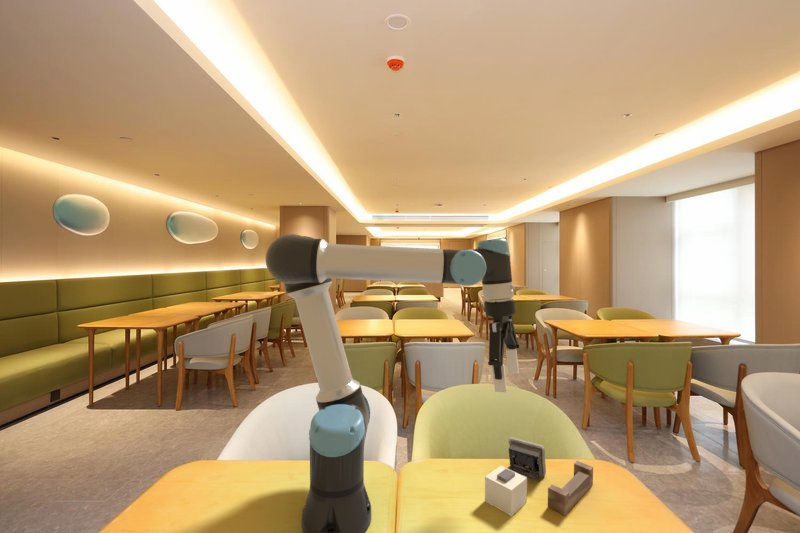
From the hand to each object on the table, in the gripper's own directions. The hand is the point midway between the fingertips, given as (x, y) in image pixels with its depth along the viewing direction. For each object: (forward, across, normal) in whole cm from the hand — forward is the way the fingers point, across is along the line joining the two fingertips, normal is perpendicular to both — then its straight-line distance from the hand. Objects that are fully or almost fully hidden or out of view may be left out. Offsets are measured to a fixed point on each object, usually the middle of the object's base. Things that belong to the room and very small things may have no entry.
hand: (507, 381), depth 94 cm
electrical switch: (+27, +5, -1) cm, 28 cm away
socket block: (+26, -9, +1) cm, 27 cm away
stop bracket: (+28, +1, -13) cm, 31 cm away
